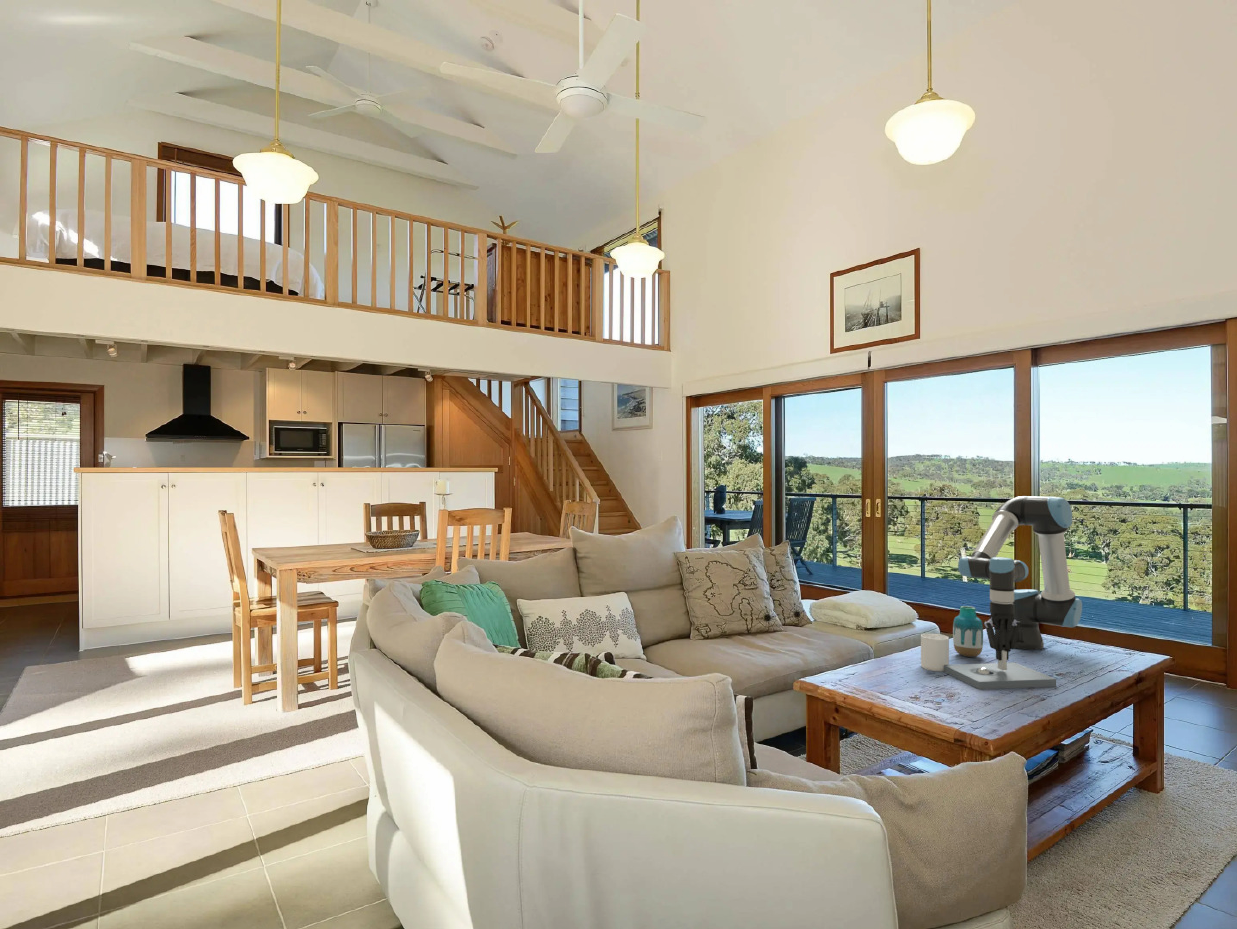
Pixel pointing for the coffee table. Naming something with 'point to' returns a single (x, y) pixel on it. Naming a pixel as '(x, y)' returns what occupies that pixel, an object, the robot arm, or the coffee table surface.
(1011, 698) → the coffee table surface
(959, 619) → the vase
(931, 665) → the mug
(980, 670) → the ball
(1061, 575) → the robot arm
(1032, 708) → the coffee table surface
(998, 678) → the grey plate with hole
